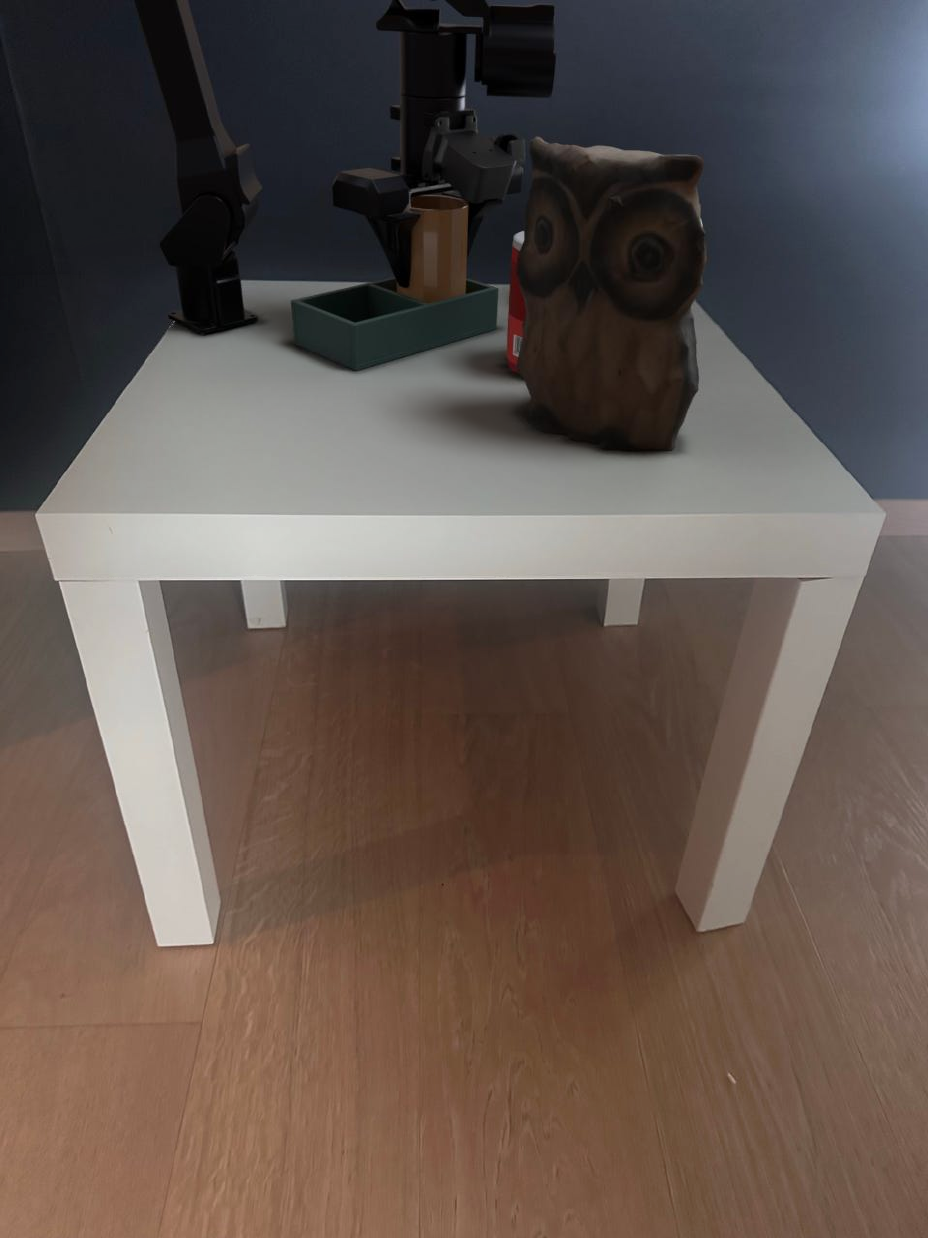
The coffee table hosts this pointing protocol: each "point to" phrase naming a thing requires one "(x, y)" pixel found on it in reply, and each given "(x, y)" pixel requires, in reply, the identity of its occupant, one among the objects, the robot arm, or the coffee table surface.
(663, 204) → the owl
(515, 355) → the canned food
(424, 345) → the divided storage box
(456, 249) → the bamboo cup
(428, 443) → the coffee table surface
